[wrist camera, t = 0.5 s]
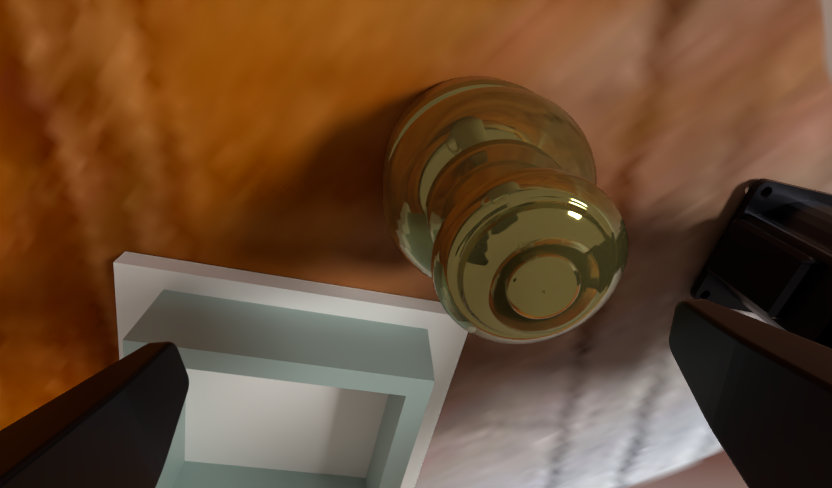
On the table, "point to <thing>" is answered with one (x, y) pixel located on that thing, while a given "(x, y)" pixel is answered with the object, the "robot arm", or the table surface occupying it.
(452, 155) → the gold rounded piece
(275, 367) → the grey green tray
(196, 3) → the table surface
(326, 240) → the table surface
